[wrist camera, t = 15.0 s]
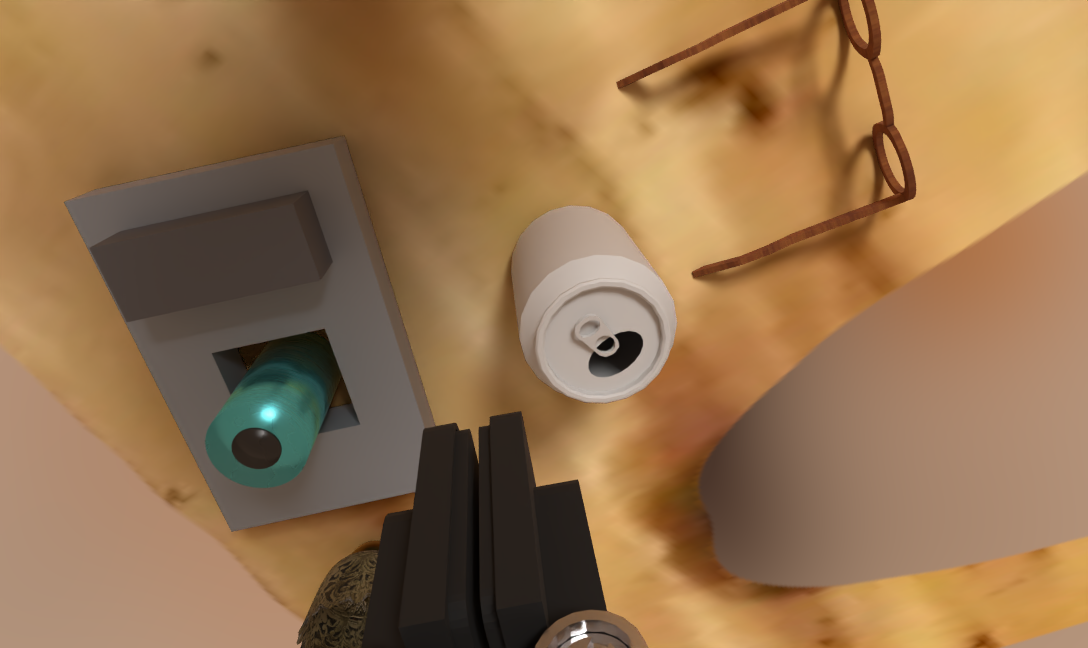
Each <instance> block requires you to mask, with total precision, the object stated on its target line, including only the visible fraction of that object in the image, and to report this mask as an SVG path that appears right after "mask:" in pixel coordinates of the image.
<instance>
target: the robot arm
mask: <svg viewBox="0 0 1088 648" xmlns="http://www.w3.org/2000/svg"><path fill="white" fill-rule="evenodd" d="M361 648H648V646H647V644H646V642H645V640H644V639H643V637H642V636H641V634H640V633H639V631H638V630H637V628H636V627H635V626H634V625H632V624H631V623H630V622H628V621H627V620H626V619H625V618H623V617H621V616H619V615H616V614H613V613H611V612H608V611H607V609H606V604H605V600H604V595H603V591H602V586H601V581H600V577H599V572H598V568H597V563H596V559H595V554H594V549H593V545H592V540H591V536H590V531H589V526H588V522H587V517H586V513H585V508H584V503H583V499H582V494H581V490H580V485H579V481H578V480H573V481H567V482H562V483H556V484H551V485H545V486H540V487H536V483H535V478H534V473H533V468H532V463H531V458H530V453H529V447H528V442H527V437H526V432H525V427H524V422H523V417H522V413H521V411H519V412H514V413H508V414H502V415H497V416H491V417H490V425H489V426H483V427H479V463H478V459H477V455H476V451H475V447H474V443H473V438H472V434H471V431H470V429H466V430H461V431H459V428H458V426H457V424H456V423H452V424H446V425H440V426H435V427H429V428H425V429H423V434H422V442H421V450H420V458H419V466H418V474H417V482H416V490H415V498H414V506H413V509H412V510H406V511H401V512H395V513H390V514H387V516H386V517H385V520H384V524H383V529H382V534H381V540H380V545H379V551H378V557H377V562H376V568H375V573H374V579H373V585H372V590H371V596H370V601H369V607H368V613H367V618H366V624H365V629H364V635H363V640H362V646H361Z"/></svg>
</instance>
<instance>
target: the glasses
mask: <svg viewBox="0 0 1088 648" xmlns="http://www.w3.org/2000/svg"><path fill="white" fill-rule="evenodd" d="M805 1H807V0H786V1H784V2H782V3H780V4H778V5H776V6H774V7H772V8H770V9H768V10H766V11H763V12H761V13H759V14H757V15H755V16H753V17H751V18H749V19H747V20H745V21H743V22H740V23H738V24H736V25H734V26H732V27H730V28H728V29H726V30H724V31H722V32H720V33H718V34H716V35H714V36H712V37H711V38H709V39H707V40H705V41H703V42H701V43H699V44H697V45H695V46H693V47H691V48H689V49H686V50H684V51H682V52H680V53H678V54H675V55H673V56H671V57H669V58H667V59H665V60H662V61H660V62H658V63H656V64H654V65H652V66H650V67H648V68H645V69H643V70H641V71H639V72H637V73H635V74H633V75H631V76H628V77H626V78H624V79H622V80H620V81H618V82H616V83H617V85H618V88H621V87H624V86H626V85H628V84H631V83H633V82H635V81H637V80H639V79H641V78H644V77H646V76H648V75H650V74H652V73H655V72H657V71H659V70H661V69H663V68H665V67H668V66H670V65H672V64H674V63H676V62H678V61H681V60H683V59H685V58H688V57H690V56H692V55H695V54H697V53H699V52H701V51H703V50H705V49H707V48H709V47H711V46H713V45H715V44H717V43H719V42H721V41H723V40H725V39H727V38H729V37H731V36H734V35H736V34H738V33H740V32H742V31H744V30H746V29H748V28H750V27H753V26H755V25H757V24H759V23H761V22H763V21H765V20H767V19H769V18H772V17H774V16H776V15H778V14H780V13H782V12H784V11H786V10H788V9H791V8H793V7H795V6H797V5H799V4H801V3H803V2H805ZM861 1H862V4H863V7H864V11H865V14H866V19H867V24H868V30H869V43H868V44H867V43H866V42H864V40H863V39H862V38H861V37H860V35H859V33H858V31H857V29H856V26H855V24H854V21H853V18H852V15H851V11H850V7H849V2H848V0H838V3H839V7H840V11H841V15H842V19H843V23H844V26H845V29H846V32H847V34H848V37H849V39H850V41H851V43H852V45H853V47H854V48H855V49H856V51H857V52H858V53H859V54H860V55H862V56H863V57H864V58H866V59H868V62H869V64H870V67H871V70H872V73H873V77H874V81H875V85H876V89H877V94H878V98H879V102H880V106H881V110H882V115H883V121H881V122H879V123H876V124H874V126H873V130H872V134H873V142H874V146H875V150H876V154H877V158H878V162H879V165H880V168H881V171H882V173H883V176H884V178H885V180H886V182H887V184H888V186H889V187H890V189H891V190H892V192H893V193H894V194H895V195H893V196H890V197H888V198H885V199H882V200H880V201H877V202H874V203H872V204H869V205H866V206H864V207H861V208H859V209H856V210H853V211H851V212H848V213H845V214H843V215H840V216H837V217H835V218H832V219H830V220H827V221H824V222H822V223H819V224H816V225H814V226H811V227H808V228H806V229H803V230H800V231H798V232H795V233H793V234H790V235H788V236H786V237H784V238H782V239H780V240H777V241H775V242H773V243H771V244H769V245H767V246H764V247H762V248H759V249H757V250H755V251H752V252H750V253H747V254H745V255H742V256H739V257H735V258H732V259H728V260H724V261H721V262H717V263H713V264H710V265H706V266H703V267H701V268H699V269H697V270H695V271H693V272H692V273H693V275H694V277H698V276H702V275H705V274H709V273H713V272H717V271H721V270H725V269H728V268H732V267H736V266H740V265H742V264H745V263H748V262H751V261H753V260H756V259H759V258H761V257H764V256H767V255H769V254H772V253H774V252H776V251H778V250H780V249H783V248H785V247H787V246H789V245H791V244H794V243H796V242H799V241H801V240H804V239H807V238H809V237H812V236H815V235H817V234H820V233H823V232H825V231H828V230H831V229H833V228H836V227H839V226H841V225H844V224H847V223H849V222H852V221H855V220H857V219H860V218H863V217H865V216H868V215H871V214H873V213H876V212H879V211H881V210H884V209H887V208H889V207H892V206H895V205H897V204H900V203H903V202H905V201H908V200H910V199H913V198H914V197H915V195H916V181H915V175H914V170H913V167H912V163H911V160H910V156H909V154H908V151H907V148H906V146H905V144H904V142H903V139H902V137H901V135H900V133H899V131H898V130H897V128H896V127H895V126H894V116H893V109H892V105H891V100H890V96H889V92H888V88H887V83H886V79H885V75H884V72H883V69H882V66H881V63H880V61H879V59H878V56H879V55H880V50H881V31H880V24H879V19H878V14H877V10H876V6H875V2H874V0H861ZM883 133H884V134H886V135H887V136H888V137H889V139H890V140H891V142H892V144H893V146H894V148H895V150H896V152H897V155H898V157H899V160H900V163H901V167H902V170H903V175H904V181H905V188H903V187H902V186H901V185H900V184H899V183H898V181H897V180H896V178H895V177H894V175H893V173H892V171H891V168H890V166H889V163H888V160H887V157H886V153H885V149H884V144H883Z"/></svg>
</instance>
